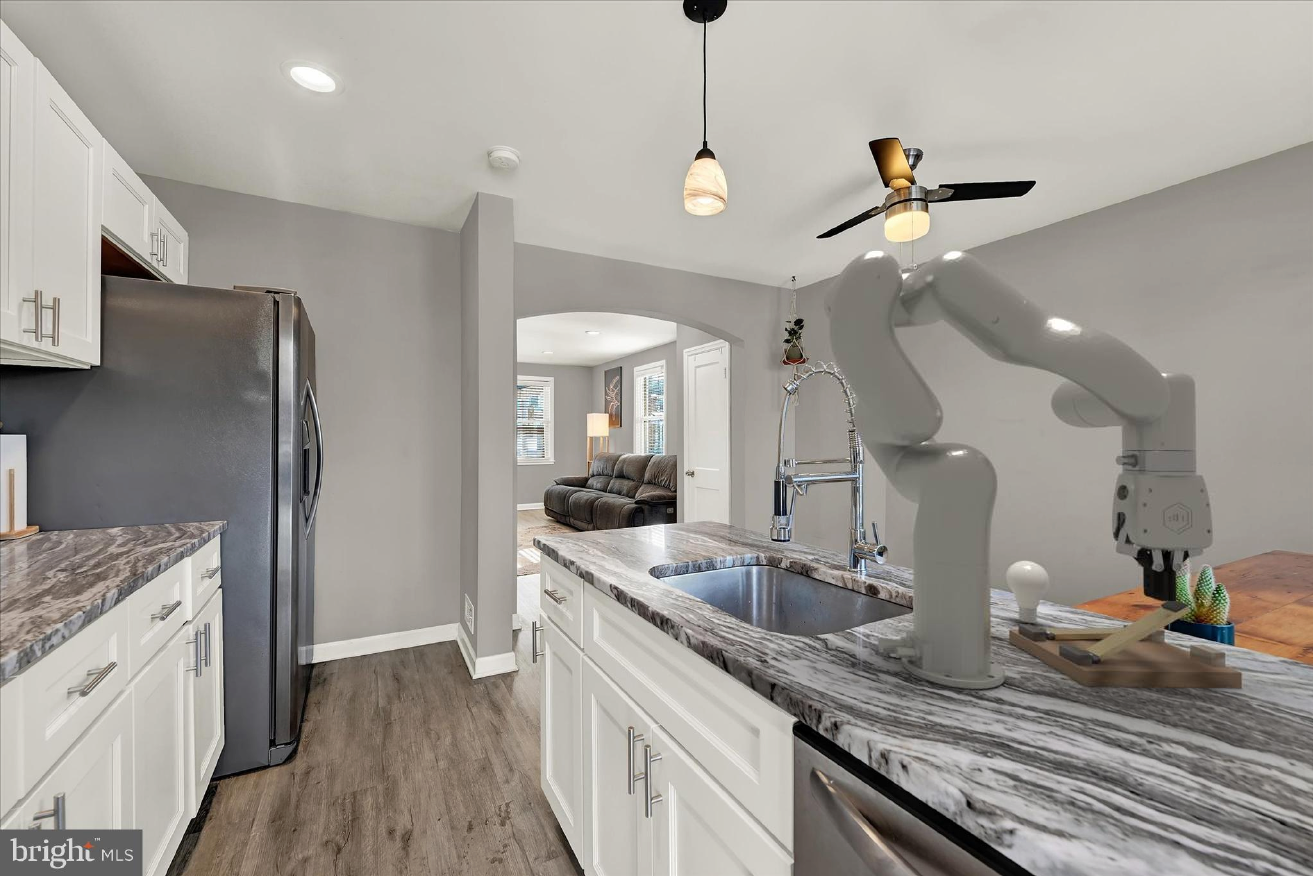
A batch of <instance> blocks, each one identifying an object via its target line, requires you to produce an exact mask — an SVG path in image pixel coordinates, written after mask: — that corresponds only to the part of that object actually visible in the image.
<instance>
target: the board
mask: <svg viewBox="0 0 1313 876" xmlns="http://www.w3.org/2000/svg"><path fill="white" fill-rule="evenodd" d="M1017 627H1018V629H1009V630H1008V638H1009V639H1008V640H1009V641H1008V643H1010V644H1011V645H1013V646H1015V645H1016V646H1017V647H1016V646H1015V647H1016V648H1018V647H1020V648H1021V649H1020V648H1019V649H1020V650H1022V649H1023V650H1024V652H1025V651H1026V652H1025V653H1026V654H1028V655H1030V654H1031V655H1030V656H1032V655H1033V656H1032V657H1034V656H1035V657H1036V658H1035V657H1034V658H1035V659H1037V658H1038V659H1037V660H1039V661H1040V662H1042V661H1043V662H1042V663H1045V664H1046V665H1048V666H1050V667H1051V668H1053V669H1055V670H1057V671H1058V672H1060V673H1062V674H1063V675H1065V676H1066V677H1068V678H1070V679H1072V680H1073V681H1076V682H1077V683H1079V684H1080V685H1082V686H1084V687H1111V686H1112V687H1115V688H1116V687H1121V688H1123V687H1124V688H1126V687H1127V688H1128V687H1129V688H1132V687H1133V688H1136V687H1137V688H1194V689H1195V688H1196V689H1197V688H1198V689H1200V688H1204V689H1206V688H1207V689H1210V688H1211V689H1214V688H1215V689H1217V688H1218V689H1242V688H1243V682H1242V681H1243V680H1242V679H1243V676H1242V675H1243V674H1242V673H1243V672H1241V671H1238V670H1236V669H1234V668H1231V667H1229V666H1226V652H1225V651H1224V652H1223V651H1221V650H1219V649H1215V648H1213V647H1210V646H1208V645H1205V644H1189V648H1190V649H1189V650H1186V649H1184V648H1181V647H1178V646H1175V645H1173V644H1171V643H1169V642H1166V640H1165V637H1166V636H1165V630H1164V629H1162V628H1161V629H1159V630H1157V631H1155V632H1153V633H1152V634H1150V635H1148V638H1143V639H1141V640H1139V641H1137V642H1136V643H1134V644H1132V645H1130V646H1128V647H1127V648H1125V649H1123V650H1121V651H1120V652H1118V653H1116V654H1114V655H1112V656H1111V657H1109V658H1107V659H1105V660H1104V661H1100V662H1099V663H1098V664H1095V663H1093V662H1092V655H1091V654H1089V653H1087V652H1085V651H1083V650H1085V649H1087V648H1089V647H1091V646H1093V645H1094V644H1096V643H1098V642H1100V641H1102V640H1103V639H1063V640H1055V639H1053V640H1051V639H1049V638H1047V637H1046V632H1044V631H1042V630H1040V629H1039V628H1038V627H1037V626H1034V625H1033V624H1025V623H1023V624H1022V623H1021V624H1018V626H1017ZM1023 650H1022V651H1023Z"/></svg>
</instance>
